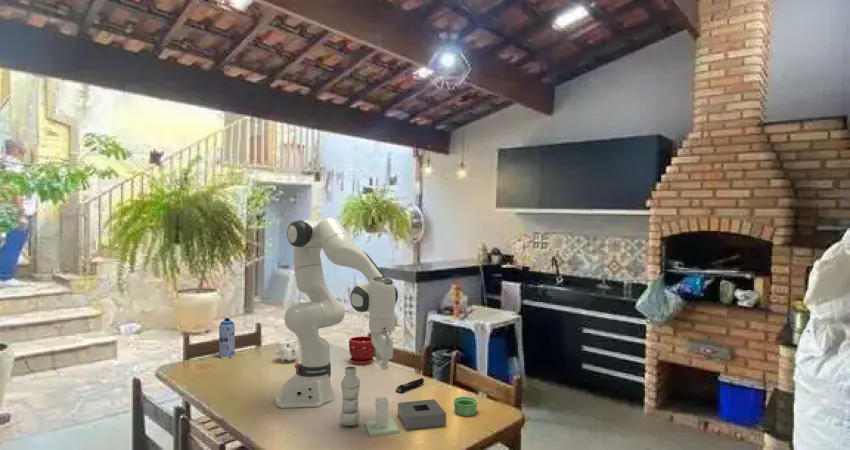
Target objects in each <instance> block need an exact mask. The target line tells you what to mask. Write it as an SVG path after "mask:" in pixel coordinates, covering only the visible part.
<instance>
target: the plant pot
mask: <svg viewBox="0 0 850 450" xmlns="http://www.w3.org/2000/svg"><path fill="white" fill-rule="evenodd" d="M348 347H349V348H348V349H349V354H350V359H349V361H350V363H352V364H355V365H357V366H360V365H361V366H363V365H369V364H372V362H373V361H374V357H373V356H374V354H375V352H376V351H375V348H374V346H373V345H372V341H371V336H365V335H364V336H354V337H350V338H349V339H348Z"/></svg>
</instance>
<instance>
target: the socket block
mask: <svg viewBox="0 0 850 450" xmlns="http://www.w3.org/2000/svg"><path fill="white" fill-rule="evenodd" d="M397 416H398V418H399V419H400V421H401V423H402V424H403V426H404V428H405V430H406V432H408V431H415V430H425V429H432V428H441V427H446V426H447V413H446V411H445V410H444V409H443V408H442V407H441V405H440V404H439V403H438V402H437V401H436V400H435V398H434V399H433V398H432V399H423V400H421V399H420V400H413V401H403V402H402V401H401V402H398V403H397Z"/></svg>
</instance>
